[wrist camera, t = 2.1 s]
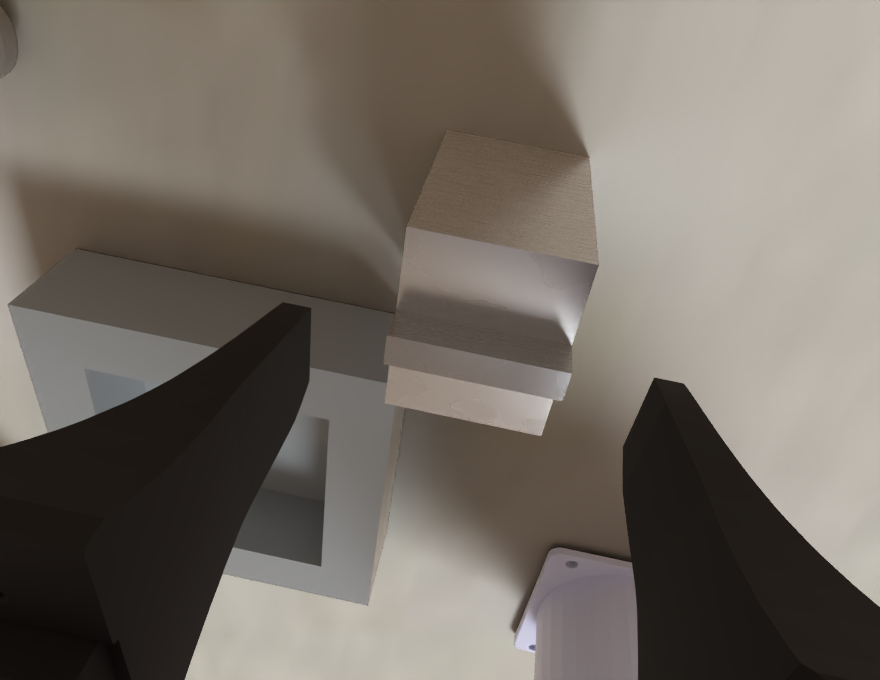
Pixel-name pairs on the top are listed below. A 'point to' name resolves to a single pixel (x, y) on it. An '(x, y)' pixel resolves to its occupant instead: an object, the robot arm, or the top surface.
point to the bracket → (493, 283)
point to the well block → (191, 340)
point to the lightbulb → (7, 44)
